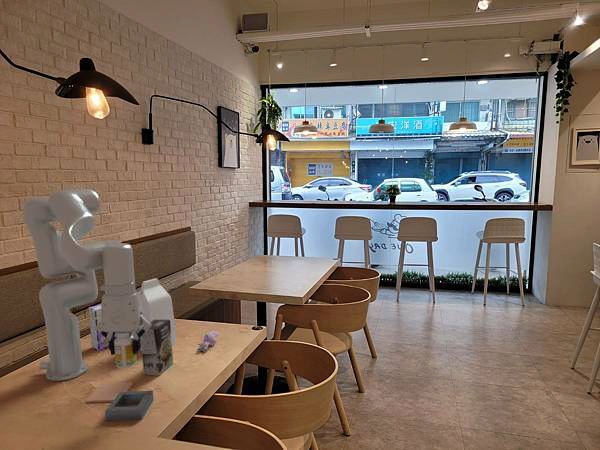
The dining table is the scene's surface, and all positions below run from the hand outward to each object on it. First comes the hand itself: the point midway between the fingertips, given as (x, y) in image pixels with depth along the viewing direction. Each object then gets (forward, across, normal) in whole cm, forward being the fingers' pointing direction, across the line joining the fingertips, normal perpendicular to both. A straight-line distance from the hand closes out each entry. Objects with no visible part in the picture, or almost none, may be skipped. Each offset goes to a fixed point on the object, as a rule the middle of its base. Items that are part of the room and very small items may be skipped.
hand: (125, 351), depth 114 cm
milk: (+18, -8, +46) cm, 50 cm away
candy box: (+18, -26, +49) cm, 58 cm away
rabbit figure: (+18, +14, +43) cm, 48 cm away
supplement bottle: (+4, 0, 0) cm, 4 cm away
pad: (+17, -10, +10) cm, 22 cm away
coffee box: (+18, 0, +25) cm, 30 cm away
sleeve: (+17, 0, 0) cm, 17 cm away
